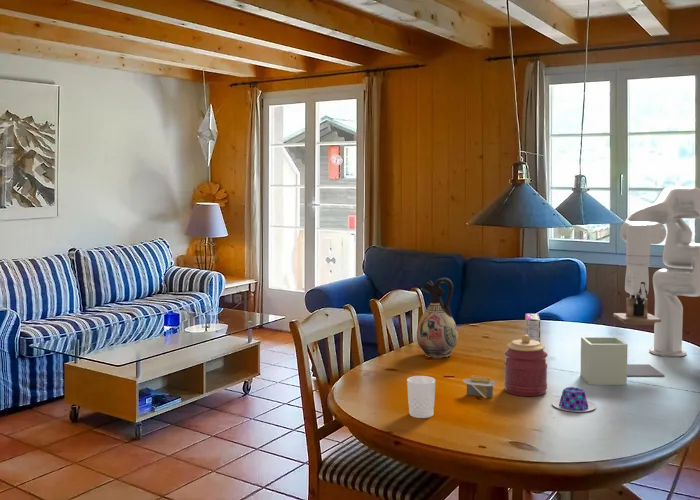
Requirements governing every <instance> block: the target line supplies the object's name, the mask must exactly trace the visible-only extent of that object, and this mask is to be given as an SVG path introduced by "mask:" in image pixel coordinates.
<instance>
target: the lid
mask: <svg viewBox="0 0 700 500" xmlns="http://www.w3.org/2000/svg"><path fill="white" fill-rule="evenodd" d="M625 300H626V301H625V302H626V304H625V305H626V306H625V307H626V308H625V312H617V313H616V312H614V313H613V315H612V316H613V317H614V318H616V319H618V321H620V322H621V323H623V324H625V325H640V326H641V325H644V326H645V325H653V326H654V325H655V322H661V319H659V318H657V317H655V315H653V314H651V313H649V312H648V308H649V307H648V306H649V303H648V302H649V300H648V298H646V299H645V303H644V316H634V304H635V298H630V297H626V298H625Z"/></svg>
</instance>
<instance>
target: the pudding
mask: <svg viewBox="0 0 700 500" xmlns="http://www.w3.org/2000/svg"><path fill="white" fill-rule="evenodd" d="M561 392H562V393H561V396H560V398H558V399H555V400H553V401H552V403H551V404H552V406H554V407H555V408H557V409H559V410H563V411H568V412H576V413H583V412H590V411H593V410H595V409H596V408H597V406H596V404H594V403H593V402H591V401H589V400H587V396H586V392H585V390H584V389H582V388H580V387H575V386H573V387H572V386H567V387H565V388H564V389H563V390H562V391H561Z"/></svg>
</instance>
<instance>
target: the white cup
mask: <svg viewBox="0 0 700 500" xmlns="http://www.w3.org/2000/svg"><path fill="white" fill-rule="evenodd" d="M406 385H407V386H406V387H407V401H408V413H409V416H411V417H412V418H417V419H427V418H432V417H433V416H434V408H435V397H436V379H435V378H434V377H432V376H426V375H413V376H410V377H407V379H406Z"/></svg>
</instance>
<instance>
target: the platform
mask: <svg viewBox="0 0 700 500" xmlns="http://www.w3.org/2000/svg"><path fill="white" fill-rule="evenodd" d="M462 381H463V383H465V384H466V395H468V396H479V397H483V398H484V399H487V398H493V396H494V395H493V394H494V392H493V391H494V389H493V388H494V386H496V385H497V381H495V380H491V377H490V376H484V375H483V376H482V375H470V377H469V378H463V380H462Z"/></svg>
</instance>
